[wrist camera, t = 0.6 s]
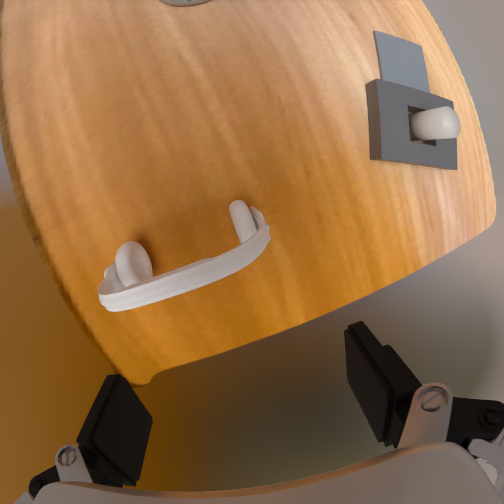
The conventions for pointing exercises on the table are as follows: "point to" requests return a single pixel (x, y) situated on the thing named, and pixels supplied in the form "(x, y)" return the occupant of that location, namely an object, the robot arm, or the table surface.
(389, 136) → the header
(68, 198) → the table surface
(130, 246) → the headset
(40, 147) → the table surface
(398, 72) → the pad
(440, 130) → the plug
